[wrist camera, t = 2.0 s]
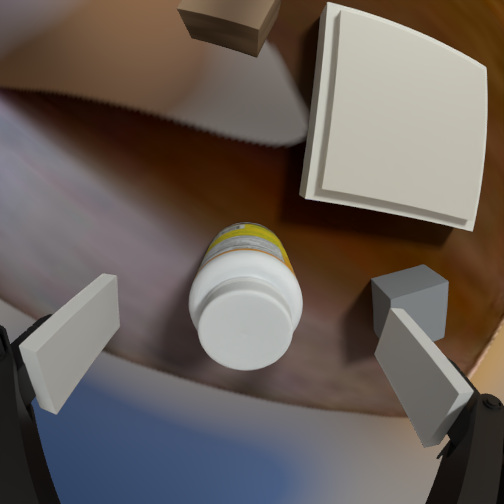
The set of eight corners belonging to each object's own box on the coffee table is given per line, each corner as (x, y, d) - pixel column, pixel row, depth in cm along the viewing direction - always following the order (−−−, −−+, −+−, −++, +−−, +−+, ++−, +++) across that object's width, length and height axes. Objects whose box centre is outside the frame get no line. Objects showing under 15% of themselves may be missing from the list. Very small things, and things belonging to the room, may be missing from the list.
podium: (299, 194, 21) (306, 199, 18) (320, 16, 17) (329, -2, 14) (455, 224, 21) (477, 233, 18) (469, 71, 17) (490, 65, 14)
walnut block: (191, 38, 17) (176, 8, 12) (214, -2, 16) (206, -37, 11) (256, 57, 18) (259, 29, 13) (277, 16, 17) (284, -18, 12)
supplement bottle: (267, 303, 23) (278, 397, 13) (198, 278, 22) (164, 362, 13) (297, 236, 21) (335, 299, 12) (223, 208, 21) (200, 249, 11)
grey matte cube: (373, 330, 24) (390, 356, 20) (370, 278, 23) (390, 299, 19) (422, 315, 24) (444, 337, 20) (422, 263, 22) (448, 281, 19)
